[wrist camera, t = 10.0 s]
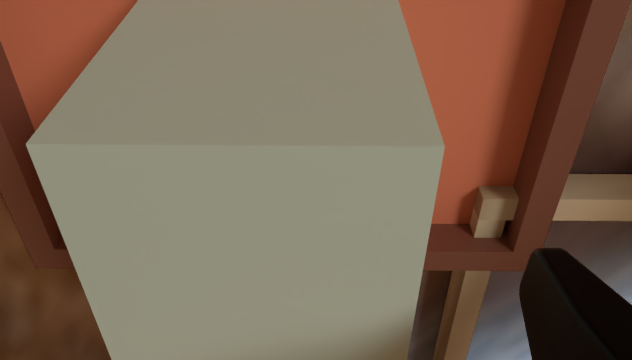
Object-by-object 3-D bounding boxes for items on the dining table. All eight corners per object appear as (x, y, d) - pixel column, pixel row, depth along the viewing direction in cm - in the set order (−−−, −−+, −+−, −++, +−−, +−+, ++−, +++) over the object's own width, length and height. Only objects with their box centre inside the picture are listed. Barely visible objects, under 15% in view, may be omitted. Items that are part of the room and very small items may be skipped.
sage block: (388, -32, 12) (444, 147, 6) (373, 153, 15) (402, 381, 9) (163, -32, 12) (25, 143, 6) (194, 152, 15) (119, 379, 9)
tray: (661, -236, 10) (716, -236, 9) (516, 229, 17) (533, 271, 16) (-126, -233, 10) (-198, -233, 9) (59, 227, 18) (36, 268, 16)
